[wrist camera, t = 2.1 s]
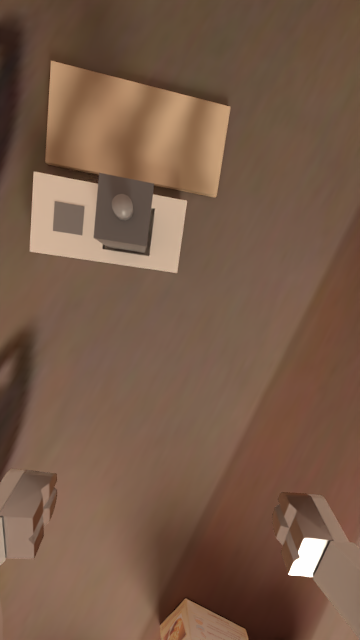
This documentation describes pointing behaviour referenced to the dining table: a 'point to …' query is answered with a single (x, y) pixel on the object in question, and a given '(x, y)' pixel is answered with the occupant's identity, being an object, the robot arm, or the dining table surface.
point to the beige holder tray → (79, 220)
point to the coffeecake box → (199, 625)
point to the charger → (123, 212)
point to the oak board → (134, 131)
